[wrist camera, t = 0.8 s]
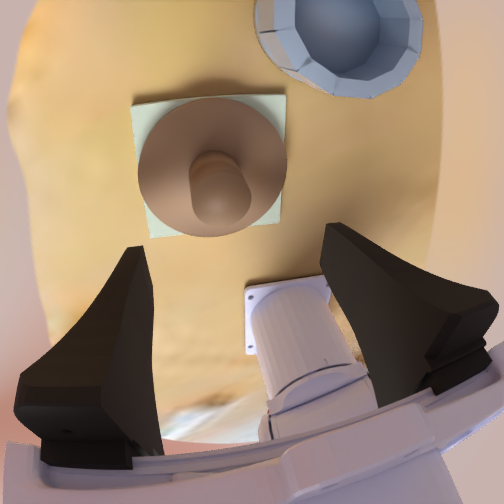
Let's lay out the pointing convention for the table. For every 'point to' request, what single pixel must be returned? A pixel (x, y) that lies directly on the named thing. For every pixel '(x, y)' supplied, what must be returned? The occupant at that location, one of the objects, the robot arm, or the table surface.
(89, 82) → the table surface
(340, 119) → the table surface
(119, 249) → the table surface
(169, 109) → the mat
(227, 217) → the lid
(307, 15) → the bowl
